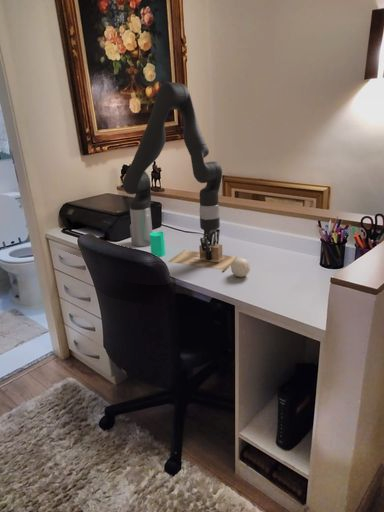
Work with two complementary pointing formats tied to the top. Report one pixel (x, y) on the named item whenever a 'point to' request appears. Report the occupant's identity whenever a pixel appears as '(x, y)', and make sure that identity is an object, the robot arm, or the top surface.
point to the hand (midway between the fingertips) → (211, 257)
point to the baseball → (240, 267)
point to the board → (194, 259)
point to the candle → (157, 243)
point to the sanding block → (212, 253)
